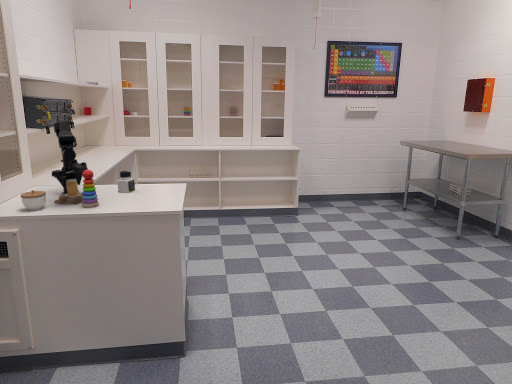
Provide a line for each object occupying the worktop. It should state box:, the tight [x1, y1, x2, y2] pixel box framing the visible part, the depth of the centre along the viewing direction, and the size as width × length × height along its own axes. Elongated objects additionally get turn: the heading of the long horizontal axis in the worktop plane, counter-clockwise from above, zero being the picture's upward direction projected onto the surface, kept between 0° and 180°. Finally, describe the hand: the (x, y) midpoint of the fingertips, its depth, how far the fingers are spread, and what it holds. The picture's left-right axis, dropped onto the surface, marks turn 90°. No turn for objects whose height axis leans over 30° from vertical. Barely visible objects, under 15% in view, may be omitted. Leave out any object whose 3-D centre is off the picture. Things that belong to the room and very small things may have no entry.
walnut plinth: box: [53, 191, 83, 205], centre depth 201 cm, size 13×13×3 cm
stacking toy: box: [81, 169, 100, 208], centre depth 189 cm, size 8×8×19 cm
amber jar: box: [66, 179, 79, 196], centre depth 199 cm, size 5×5×8 cm
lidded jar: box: [20, 189, 47, 211], centre depth 185 cm, size 11×11×9 cm
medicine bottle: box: [116, 170, 136, 194], centre depth 220 cm, size 7×7×12 cm
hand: (72, 186), depth 199 cm, fingers open, 9 cm apart
